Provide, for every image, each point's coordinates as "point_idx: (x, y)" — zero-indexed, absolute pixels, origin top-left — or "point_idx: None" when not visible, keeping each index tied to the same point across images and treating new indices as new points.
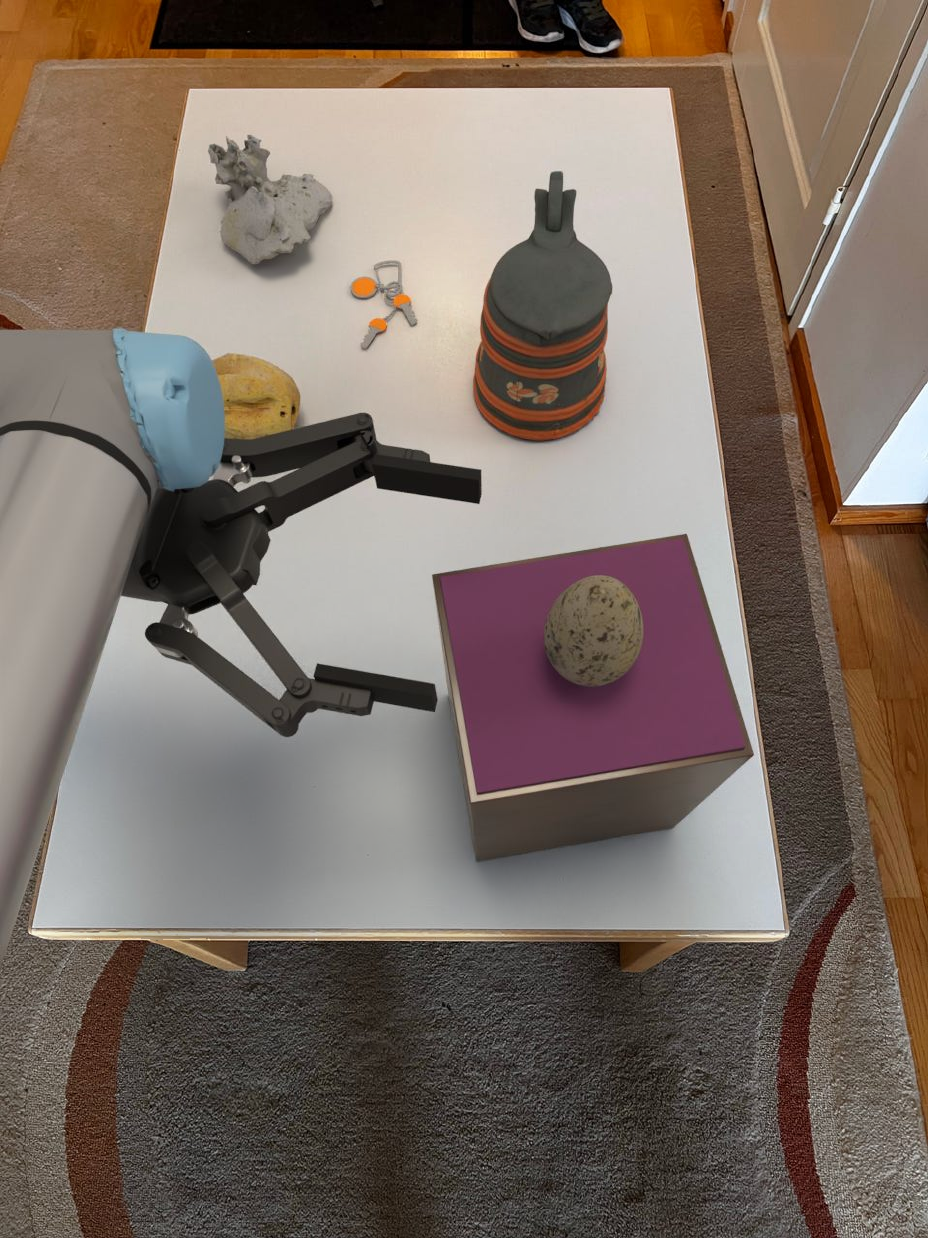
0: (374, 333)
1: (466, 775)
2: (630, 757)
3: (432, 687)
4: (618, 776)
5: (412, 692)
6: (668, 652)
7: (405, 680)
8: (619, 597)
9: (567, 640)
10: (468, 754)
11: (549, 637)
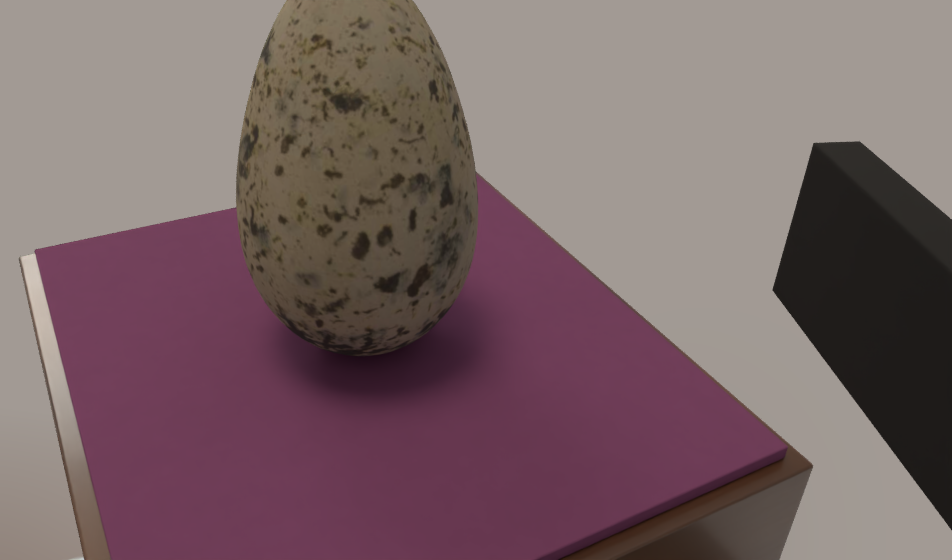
0: None
1: (760, 487)
2: (550, 255)
3: (829, 146)
4: (591, 272)
5: (893, 174)
6: None
7: (873, 195)
8: None
9: (442, 126)
10: (707, 498)
11: (417, 213)
